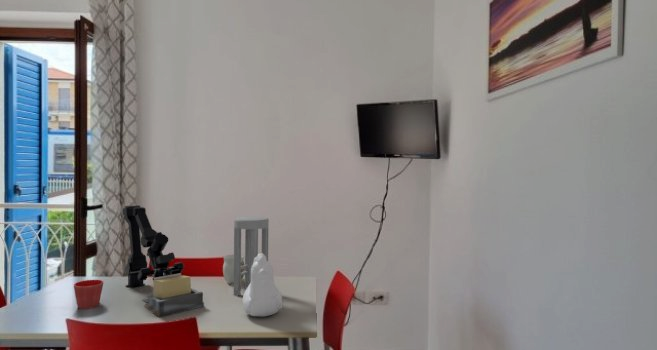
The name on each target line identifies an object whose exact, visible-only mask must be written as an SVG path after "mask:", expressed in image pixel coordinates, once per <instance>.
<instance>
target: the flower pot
mask: <svg viewBox="0 0 657 350" xmlns="http://www.w3.org/2000/svg"><path fill="white" fill-rule="evenodd" d="M103 287H104V280H101V279H86V280H82V281H80V280H79V281H77V282H75V283H74V284H73V289H74V295H75V301H76V305H77V308H78V309H84V310H88V309H93V308H96V307H99V305H100V303H101V302H100V301H101V296H102V293H103Z"/></svg>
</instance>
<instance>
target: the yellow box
mask: <svg viewBox="0 0 657 350" xmlns="http://www.w3.org/2000/svg"><path fill="white" fill-rule="evenodd" d="M191 282H192V281H191V276H188V275H182V272H181V273H179V274H171V275H168V276H162V277H156V278H154V280H153V279H152V288H153V290H152V291H153V296H154V297H156V298H157V299H159V300H165V299H169V298H174V297H179V296H183V295H188V294H191V289H192V287H191V286H192V283H191Z"/></svg>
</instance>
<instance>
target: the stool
mask: <svg viewBox="0 0 657 350" xmlns="http://www.w3.org/2000/svg"><path fill="white" fill-rule="evenodd" d="M233 223H234V224H233V230H234V231H233V255H234V284H233V296H237V297H239V296H240V294H241V289H242V288H241V287H242V284H241V283H242V281H241V276H243V275H244V276H243V277H244V290H245V291H246V289H247V287H248V286H249V284H250V283H251V267H252V265H253V262H254V258H255V257H257V255H258V254H259V230H261V253H263V254H264V255H265V256H266V259H267V261H268V262H269V223H270V221H269V217H266V216H241V217H235V219H234V220H233ZM242 230H245V231H244V233H245V236H244V237H245V239H244V241H245V243H244V248H245V252H244V265H243V266H241V255H242ZM244 268H245V271H244V272H242V273H241V269H244ZM238 295H239V296H238Z"/></svg>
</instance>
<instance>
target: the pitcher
mask: <svg viewBox="0 0 657 350" xmlns="http://www.w3.org/2000/svg"><path fill="white" fill-rule="evenodd" d="M243 265H245V255H243V254H241V266H243ZM244 271H245V268H244V269H241V273H242V272H244ZM222 273H223V278H224V281H225V282H226V283H227V284H228V283H229V284H228V285H234V254H226V255H224V256H223V265H222ZM244 277H245V275H243V276H241V282H242V280H243V279H244Z"/></svg>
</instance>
